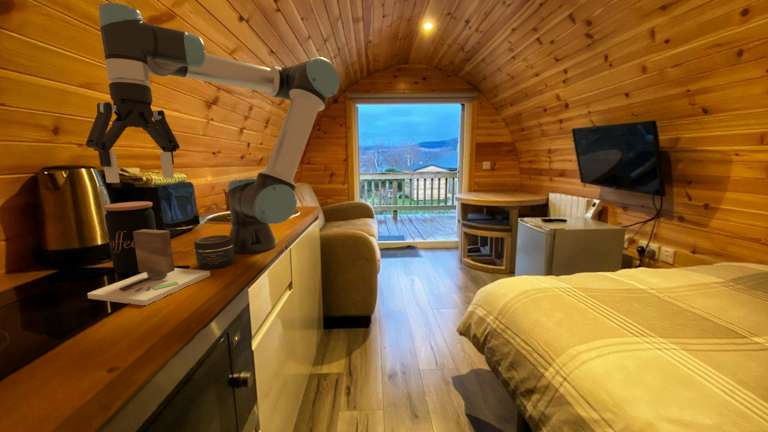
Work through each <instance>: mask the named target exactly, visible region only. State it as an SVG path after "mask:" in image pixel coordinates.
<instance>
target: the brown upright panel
mask: <svg viewBox="0 0 768 432" xmlns="http://www.w3.org/2000/svg"><path fill="white" fill-rule="evenodd" d="M133 236H134V242H135V249H136V256H137V262H138V269H139V272H138V273H144V272H147V277H148V278H145V279H143V280H140V281H137V282H135V283H132V284H130V285H127V286H124V287H122V288H119V290H122V291H123V290H125V289H128V288H130V287H133V286H135V285H138V284H141V283H143V282H146V281H148V280H156V279H161V278H164V277H166V276H167V273H170V272H172V271H175V269H174V268H175V263H174V262H175V261H174V255H173V249H172V241H171V233H170V230H164V229H163V230H159V229H156V230H146V229H142V230H138V231H134V232H133Z"/></svg>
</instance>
